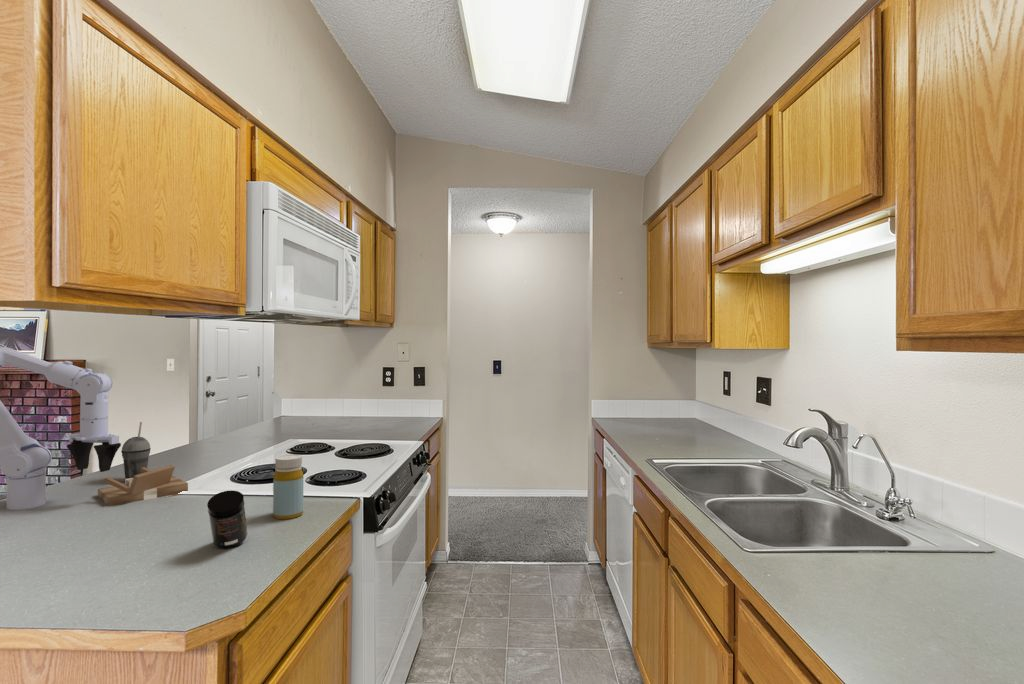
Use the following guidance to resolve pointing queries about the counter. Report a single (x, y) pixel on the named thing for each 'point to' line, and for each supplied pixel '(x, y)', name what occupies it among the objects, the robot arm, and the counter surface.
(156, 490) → the wooden block stack
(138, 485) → the wooden l-shaped bracket
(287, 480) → the bottle
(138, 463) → the beverage cup
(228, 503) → the supplement container
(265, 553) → the counter surface
